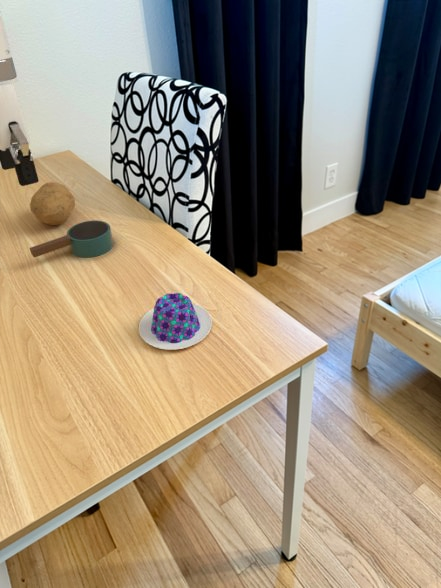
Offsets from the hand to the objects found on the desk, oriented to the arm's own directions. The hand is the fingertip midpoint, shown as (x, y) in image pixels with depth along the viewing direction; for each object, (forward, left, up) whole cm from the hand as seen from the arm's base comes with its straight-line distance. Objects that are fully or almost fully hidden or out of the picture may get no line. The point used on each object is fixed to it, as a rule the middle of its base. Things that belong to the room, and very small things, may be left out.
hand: (20, 175), depth 78 cm
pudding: (+8, -35, -18) cm, 41 cm away
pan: (+6, -2, -18) cm, 19 cm away
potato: (+8, +16, -18) cm, 25 cm away
